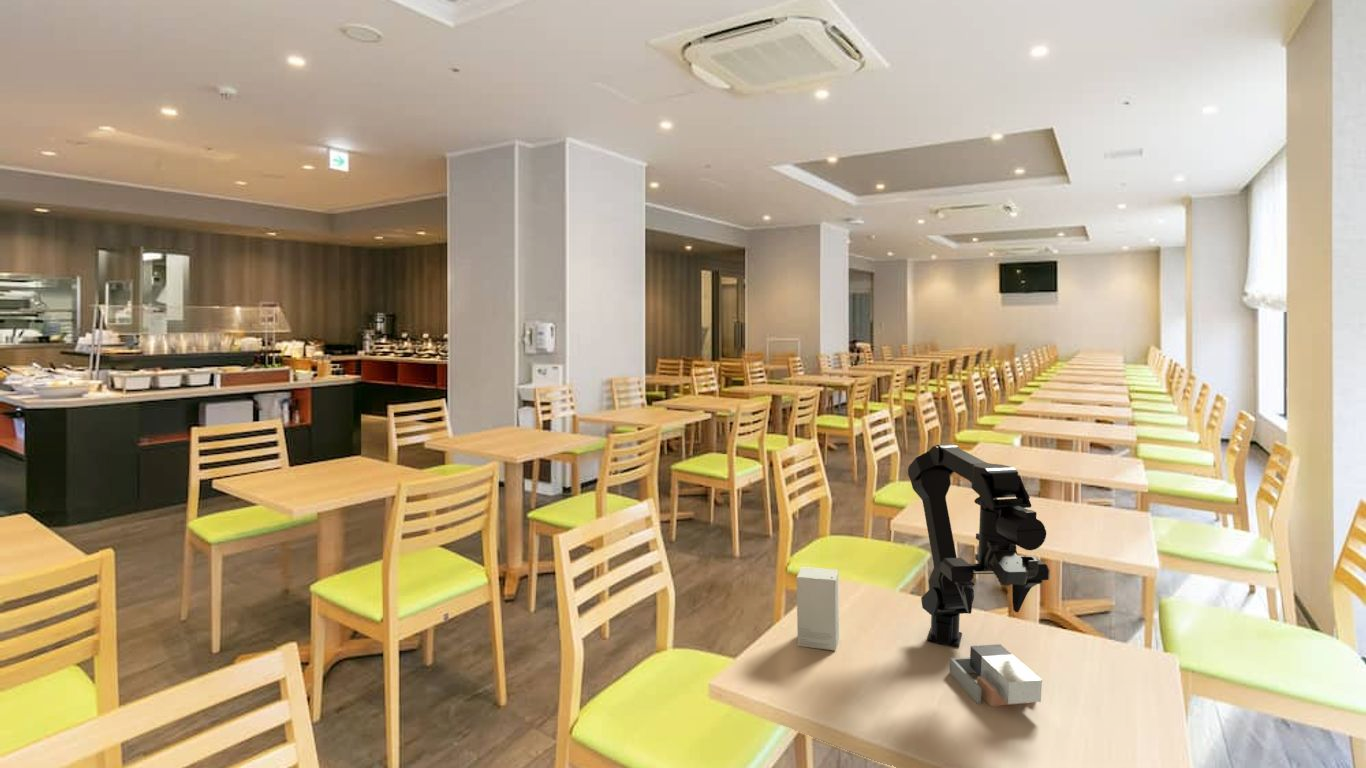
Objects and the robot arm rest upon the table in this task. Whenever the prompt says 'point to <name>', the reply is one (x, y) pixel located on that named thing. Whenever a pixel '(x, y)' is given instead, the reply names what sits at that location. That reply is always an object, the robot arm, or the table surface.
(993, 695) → the tan block
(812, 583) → the skincare box
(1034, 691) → the gray capped pillar
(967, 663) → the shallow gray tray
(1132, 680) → the table surface
